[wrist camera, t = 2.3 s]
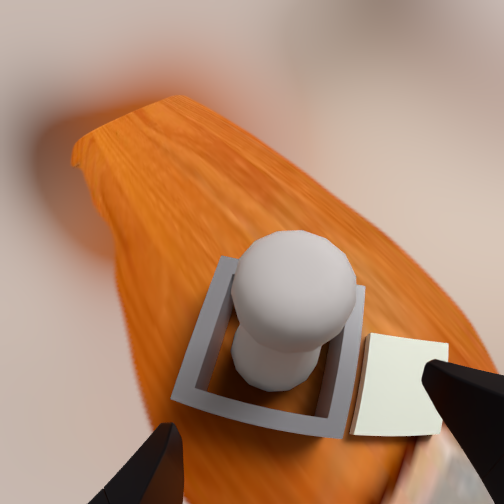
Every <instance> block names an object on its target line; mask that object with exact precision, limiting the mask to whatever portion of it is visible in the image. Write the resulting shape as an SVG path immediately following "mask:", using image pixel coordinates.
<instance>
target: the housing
mask: <svg viewBox="0 0 504 504" xmlns="http://www.w3.org/2000/svg"><path fill="white" fill-rule="evenodd" d="M238 261H239V259H235V258H230V257H226V256H221V258H220V260H219V263H218V266H217V268H216V271H215V274H214V276H213V279H212V282H211V284H210V287H209V290H208V292H207V295H206V298H205V301H204V303H203V306H202V309H201V312H200V314H199V317H198V320H197V323H196V326H195V328H194V331H193V334H192V337H191V340H190V342H189V345H188V348H187V351H186V354H185V357H184V360H183V363H182V366H181V368H180V371H179V374H178V377H177V380H176V383H175V386H174V389H173V392H172V395H171V398H170V399H172V400H174V401H177V402H180V403H182V404H185V405H188V406H191V407H194V408H197V409H200V410H203V411H206V412H209V413H212V414H215V415H219V416H222V417H226V418H229V419H233V420H237V421H240V422H244V423H248V424H252V425H257V426H261V427H266V428H270V429H275V430H280V431H286V432H292V433H298V434H304V435H311V436H319V437H327V438H337V439H342V438H343V434H344V430H345V426H346V422H347V417H348V413H349V408H350V403H351V398H352V393H353V387H354V382H355V376H356V369H357V363H358V356H359V349H360V341H361V332H362V323H363V312H364V300H365V286H361V285H356V304H355V306H354V309H353V311H352V313H351V315H350V317H349V318H348V320H347V322H346V323H345V325H344V327H343V329H342V330H341V332H340V333H339V334H338V335H337V336H335V337H334V338H333V339H331V340H330V343H329V349H328V354H327V360H326V365H325V370H324V375H323V380H322V385H321V389H320V394H319V399H318V403H317V407H316V411H315V415H314V416H307V415H301V414H295V413H290V412H284V411H279V410H275V409H270V408H265V407H261V406H257V405H252V404H248V403H244V402H241V401H237V400H233V399H229V398H226V397H222V396H219V395H216V394H212V393H209V392H207V389H208V386H209V382H210V379H211V376H212V373H213V370H214V367H215V363H216V360H217V357H218V354H219V351H220V348H221V344H222V341H223V338H224V335H225V332H226V329H227V326H228V322H229V319H230V316H231V313H232V310H233V307H234V302H233V299H232V295H231V288H232V284H233V280H234V276H235V272H236V268H237V264H238Z"/></svg>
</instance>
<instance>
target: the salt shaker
mask: <svg viewBox="0 0 504 504" xmlns="http://www.w3.org/2000/svg"><path fill="white" fill-rule="evenodd" d="M231 295H232V299H233V302H234V306H235V310H236V313H237V317H238V320H239V322H240V325H239V327H238V329H237V331H236V332H235V336H234V340H233V344H232V348H231V354H232V358H233V361H234V365H235V368H236V370H237V371H238V373H239V374H240V375H241V376H242V377H243V378H244V380H245V381H246V382H247V383H248V384H249V385H252V386H254V387H257V388H259V389H262V390H265V391H267V392H273V391H288V390H290V389H292V388H294V387H295V386H297V385H299V384H301V383H302V382H304V381H306V380H307V378H308V377H309V375H310V374H311V372H312V371H313V369H314V368H315V366H316V365H317V362H318V358H319V354H320V350H321V346H322V345H323V344H325V343H326V342H328V341H329V340H331V339H333V338H334V337H335V336H337V335H338V334H339V333H340V332H341V330H342V329H343V327H344V325H345V323H346V322H347V320H348V318H349V317H350V315H351V313H352V311H353V309H354V306H355V304H356V276H355V273H354V271H353V269H352V267H351V265H350V263H349V261H348V259H347V257H346V255H345V254H344V253H343V252H342V251H341V250H339V249H338V248H337V247H336V246H334V245H333V244H332V243H331V242H330V241H328V240H327V239H326V238H323V237H320V236H317V235H314V234H312V233H309V232H306V231H303V230H297V231H277V232H275V233H272V234H270V235H268V236H265V237H263V238H261V239H258V240H256V241H254V242H253V244H252V245H251V246H250V247H249V248H248V249H247V251H246V252H245V253H244V254H243V255H242V256H241V257H240V259H239V261H238V264H237V268H236V272H235V276H234V280H233V284H232V288H231Z"/></svg>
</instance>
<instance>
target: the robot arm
mask: <svg viewBox="0 0 504 504" xmlns="http://www.w3.org/2000/svg"><path fill="white" fill-rule="evenodd" d="M421 382H422V385H423V387H424V389H425V390H426V392H427V394H428V396H429V398H430V399H431V401H432V403H433V405H434V407H435V409H436V410H437V412H438V414H439V415H440V417H441V418H442V419H443V421H444V422H445V424H446V425H447V427H448V428H449V430H450V431H451V433H452V434H453V436H454V437H455V439H456V440H457V442H458V443H459V445H460V446H461V448H462V449H463V451H464V452H465V454H466V456H467V457H468V459H469V460H470V462H471V463H472V465H473V467H474V468H475V470H476V472H477V473H478V475H479V477H480V478H481V479H482V482H483V483H484V485H485V487H486V489H487V490H488V492H489V494H490V496H491V497H492V499H493V501H494V503H495V504H504V375H499V374H495V373H490V372H486V371H482V370H477V369H473V368H469V367H465V366H461V365H457V364H453V363H449V362H445V361H442V360H438V359H433V360H430V361H428V362H427V363H426V364H425V366H424V370H423V374H422V378H421ZM183 490H184V467H183V445H182V438H181V436H180V434H179V432H178V430H177V428H176V426H175V424H174V423H172V422H167V423H161V424H160V425H159V426H158V427H157V428H156V430H155V431H154V432H153V433H152V434H151V435H150V436H149V438H148V439H147V440H146V441H145V442H144V443H143V445H142V446H141V447H140V448H139V449H138V451H136V453H135V454H134V455H133V456H132V457H131V458H130V459H129V461H127V463H126V464H125V465H124V466H123V467H122V468H121V469H120V470H119V472H117V474H116V475H115V476H114V477H113V478H112V479H111V480H110V481H109V482H108V483H107V485H105V487H104V489H102V490H101V491H100V492H99V493H98V494H97V495H96V496H95V497H94V498H93V499H92V500H91V501H90V502H89V503H88V504H183Z"/></svg>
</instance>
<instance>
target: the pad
mask: <svg viewBox="0 0 504 504" xmlns="http://www.w3.org/2000/svg"><path fill="white" fill-rule="evenodd" d="M433 359H438V360H442V361H445V362H448V343H440V342H432V341H424V340H416V339H409V338H402V337H395V336H388V335H382V334H375V333H370V334H369V335H367V336H366V343H365V351H364V358H363V366H362V372H361V379H360V385H359V390H358V396H357V401H356V406H355V411H354V416H353V420H352V425H351V429H350V433H349V434H352V435H367V436H417V435H433V434H440V431H441V425H442V418H441V417H440V415H439V414H438V412H437V410H436V409H435V407H434V405H433V403H432V401H431V399H430V398H429V396H428V394H427V392H426V390H425V389H424V387H423V385H422V382H421V378H422V374H423V370H424V366H425V364H426V363H427V362H428V361H430V360H433Z"/></svg>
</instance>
